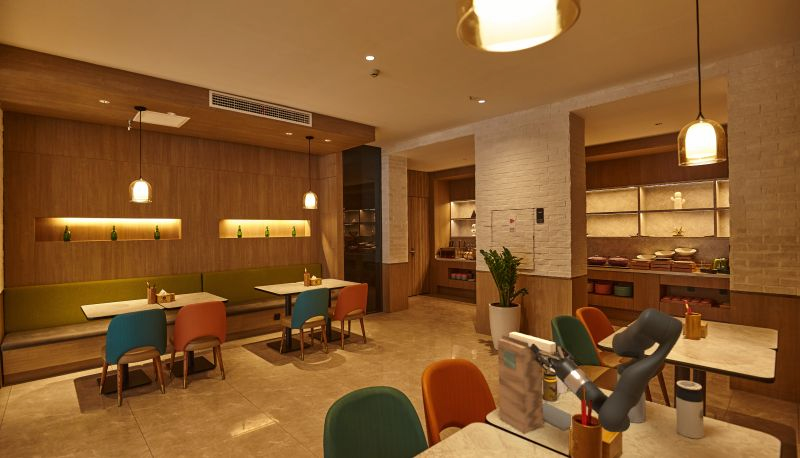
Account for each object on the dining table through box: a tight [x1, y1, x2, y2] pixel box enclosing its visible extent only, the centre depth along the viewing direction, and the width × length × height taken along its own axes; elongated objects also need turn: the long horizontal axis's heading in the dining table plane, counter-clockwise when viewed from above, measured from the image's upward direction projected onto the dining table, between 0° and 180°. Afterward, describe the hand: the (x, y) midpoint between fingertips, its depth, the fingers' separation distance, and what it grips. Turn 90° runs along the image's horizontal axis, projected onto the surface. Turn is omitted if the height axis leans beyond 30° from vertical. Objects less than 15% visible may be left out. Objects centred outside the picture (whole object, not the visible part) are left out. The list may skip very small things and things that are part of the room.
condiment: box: [542, 370, 560, 404], centre depth 177 cm, size 7×8×12 cm
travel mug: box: [675, 380, 705, 440], centre depth 145 cm, size 8×8×18 cm
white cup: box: [549, 368, 569, 395], centre depth 185 cm, size 8×8×10 cm
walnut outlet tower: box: [497, 334, 544, 435], centre depth 156 cm, size 10×13×34 cm
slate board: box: [543, 402, 573, 432], centre depth 161 cm, size 12×19×1 cm, turn 28°
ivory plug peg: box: [508, 331, 557, 354], centre depth 151 cm, size 3×19×3 cm, turn 32°
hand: (540, 343), depth 147 cm, fingers open, 8 cm apart
